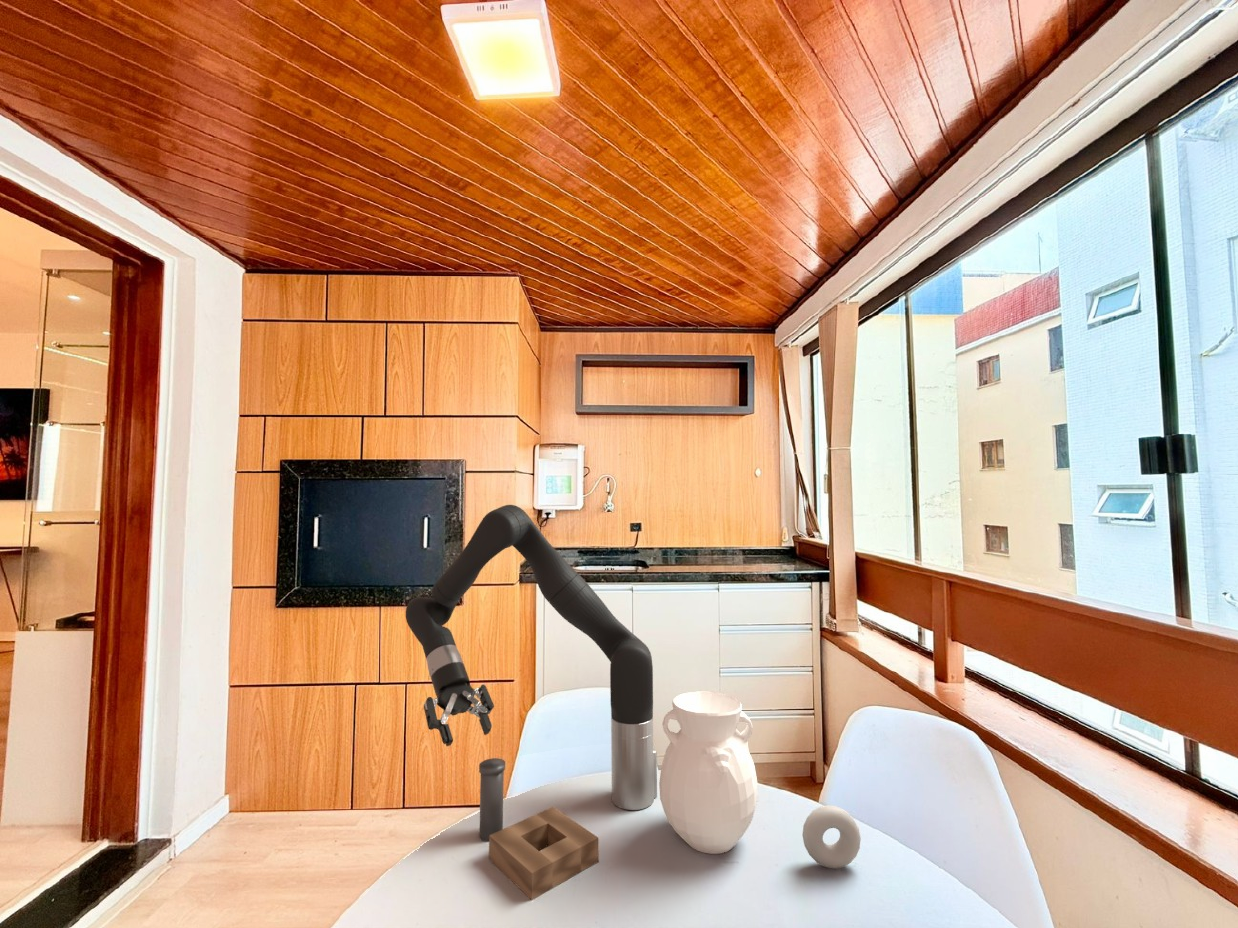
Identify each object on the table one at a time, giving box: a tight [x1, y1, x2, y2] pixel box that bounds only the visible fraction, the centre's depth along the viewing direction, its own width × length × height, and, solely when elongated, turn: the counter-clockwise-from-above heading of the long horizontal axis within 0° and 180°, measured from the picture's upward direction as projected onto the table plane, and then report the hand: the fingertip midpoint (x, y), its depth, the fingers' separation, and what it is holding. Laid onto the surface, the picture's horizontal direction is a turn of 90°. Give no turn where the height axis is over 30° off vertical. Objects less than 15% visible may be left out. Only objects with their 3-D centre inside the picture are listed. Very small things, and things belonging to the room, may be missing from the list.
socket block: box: [488, 806, 600, 901], centre depth 95 cm, size 14×14×4 cm
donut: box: [802, 804, 862, 870], centre depth 93 cm, size 10×3×10 cm, turn 90°
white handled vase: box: [658, 690, 759, 855], centre depth 102 cm, size 19×18×25 cm
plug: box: [478, 757, 506, 842], centre depth 103 cm, size 5×5×13 cm
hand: (469, 738), depth 111 cm, fingers open, 8 cm apart
